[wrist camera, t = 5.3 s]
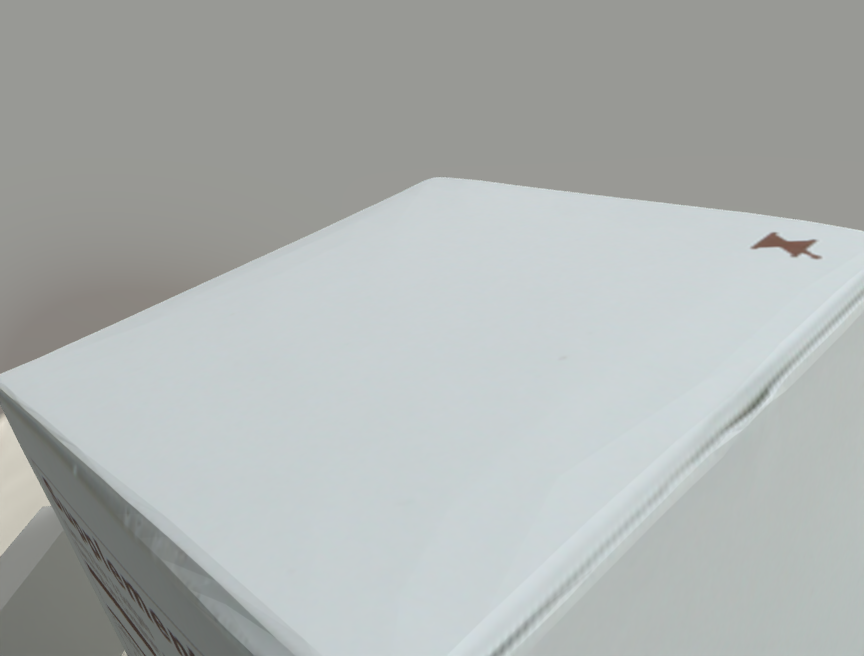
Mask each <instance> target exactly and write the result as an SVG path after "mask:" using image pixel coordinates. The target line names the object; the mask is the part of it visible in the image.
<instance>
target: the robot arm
mask: <svg viewBox="0 0 864 656" xmlns="http://www.w3.org/2000/svg"><path fill="white" fill-rule="evenodd" d="M124 650H125V649H124V647H123V645H122V644H121V642H120V640H119V638H118V636H117V634H116V632H115V630H114V628H113V626H112V624H111V622H110V620H109V618H108V616H107V614H106V613H105V611H104V609H103V607H102V605H101V603H100V601H99V599H98V597H97V595H96V593H95V591H94V589H93V587H92V585H91V584H90V582H89V580H88V578H87V576H86V574H85V572H84V570H83V568H82V566H81V564H80V562H79V560H78V558H77V556H76V554H75V552H74V550H73V548H72V546H71V544H70V541H69V539H68V537H67V535H66V533H65V531H64V529H63V527H62V525H61V523H60V521H59V519H58V517H57V515H56V513H55V511H54V510H53V508H52V506H46V507H42V508H41V509H40V510H39V511H38V513H37V514H36V515H35V516H34V517H33V519H32V520H31V521H30V522H29V523H28V525H27V526H26V527H25V528H24V529H23V531H22V532H21V533H20V534H19V535H18V536H17V538H16V539H15V540H14V541H13V542H12V544H11V545H10V546H9V547H8V548H7V550H6V551H5V552H4V553H3V554H2V556H1V557H0V656H121V655H122V653H123V651H124Z"/></svg>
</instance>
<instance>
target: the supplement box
mask: <svg viewBox="0 0 864 656" xmlns="http://www.w3.org/2000/svg"><path fill="white" fill-rule="evenodd" d="M0 405H1V407H2V409H3V411H4V413H5V415H6V417H7V419H8V421H9V423H10V425H11V427H12V429H13V432H14V434H15V436H16V438H17V440H18V442H19V444H20V446H21V448H22V450H23V452H24V454H25V455H26V457H27V459H28V461H29V463H30V465H31V467H32V469H33V471H34V473H35V475H36V477H37V479H38V480H39V482H40V484H41V486H42V488H43V490H44V492H45V494H46V496H47V498H48V500H49V502H50V504H51V506H52V508H53V510H54V511H55V513H56V515H57V517H58V519H59V521H60V523H61V525H62V527H63V529H64V531H65V533H66V535H67V537H68V539H69V541H70V544H71V546H72V548H73V550H74V552H75V554H76V556H77V558H78V560H79V562H80V564H81V566H82V568H83V570H84V572H85V574H86V576H87V578H88V580H89V582H90V584H91V585H92V587H93V589H94V591H95V593H96V595H97V597H98V599H99V601H100V603H101V605H102V607H103V609H104V611H105V613H106V614H107V616H108V618H109V620H110V622H111V624H112V626H113V628H114V630H115V632H116V634H117V636H118V638H119V640H120V642H121V644H122V645H123V647H124V649H125V651H126V653H127V655H128V656H864V231H860V230H854V229H849V228H844V227H838V226H832V225H827V224H821V223H815V222H809V221H802V220H796V219H789V218H781V217H774V216H767V215H759V214H753V213H745V212H736V211H727V210H719V209H711V208H702V207H694V206H685V205H677V204H668V203H660V202H651V201H643V200H634V199H625V198H616V197H608V196H599V195H591V194H582V193H575V192H567V191H558V190H550V189H542V188H532V187H525V186H517V185H510V184H502V183H495V182H487V181H480V180H469V179H457V178H443V177H441V178H439V177H435V178H431V179H428V180H425V181H423V182H420V183H418V184H416V185H414V186H412V187H410V188H408V189H406V190H404V191H402V192H400V193H398V194H396V195H394V196H392V197H390V198H388V199H386V200H383V201H381V202H379V203H377V204H375V205H373V206H370V207H368V208H366V209H364V210H362V211H360V212H358V213H355V214H353V215H351V216H349V217H347V218H345V219H343V220H341V221H338V222H336V223H334V224H332V225H330V226H328V227H325V228H323V229H321V230H319V231H317V232H315V233H313V234H311V235H308V236H306V237H304V238H302V239H299V240H297V241H295V242H293V243H291V244H288V245H286V246H284V247H282V248H280V249H277V250H275V251H273V252H271V253H269V254H266V255H264V256H262V257H260V258H258V259H256V260H253V261H251V262H249V263H247V264H245V265H242V266H240V267H238V268H236V269H234V270H231V271H229V272H227V273H225V274H223V275H220V276H218V277H216V278H214V279H212V280H209V281H207V282H205V283H203V284H201V285H198V286H196V287H194V288H192V289H190V290H187V291H185V292H183V293H181V294H179V295H177V296H174V297H172V298H170V299H168V300H166V301H163V302H161V303H159V304H157V305H155V306H152V307H150V308H148V309H146V310H144V311H141V312H139V313H137V314H135V315H133V316H131V317H128V318H126V319H124V320H122V321H120V322H117V323H115V324H113V325H111V326H109V327H107V328H104V329H102V330H100V331H97V332H95V333H93V334H91V335H89V336H87V337H84V338H82V339H80V340H77V341H75V342H73V343H71V344H68V345H66V346H64V347H62V348H60V349H57V350H55V351H53V352H51V353H49V354H47V355H44V356H42V357H40V358H38V359H36V360H33V361H31V362H28V363H26V364H23V365H21V366H18V367H16V368H13V369H11V370H9V371H6V372H4V373H2V374H0Z"/></svg>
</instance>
